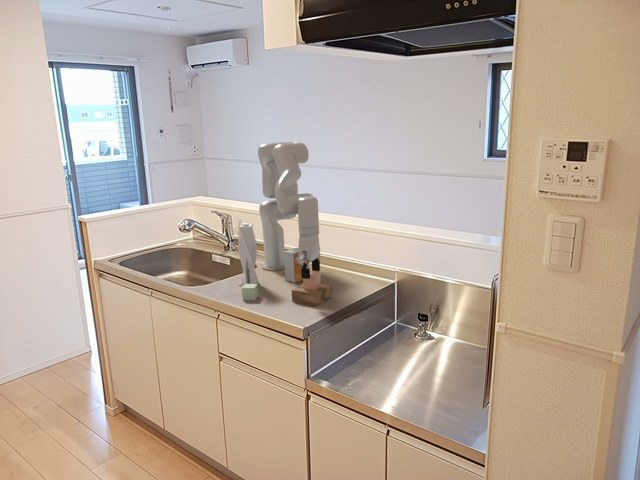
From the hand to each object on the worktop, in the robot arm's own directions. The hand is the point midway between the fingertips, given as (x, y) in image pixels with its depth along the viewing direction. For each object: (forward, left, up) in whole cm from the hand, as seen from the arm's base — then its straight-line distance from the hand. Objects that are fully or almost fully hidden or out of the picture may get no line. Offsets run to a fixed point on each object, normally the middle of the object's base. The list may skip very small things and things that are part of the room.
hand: (311, 274), depth 190 cm
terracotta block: (0, 0, -5) cm, 5 cm away
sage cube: (+5, -24, -10) cm, 26 cm away
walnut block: (0, 0, -10) cm, 10 cm away
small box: (-21, -16, -10) cm, 28 cm away
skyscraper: (-10, -33, -10) cm, 36 cm away
